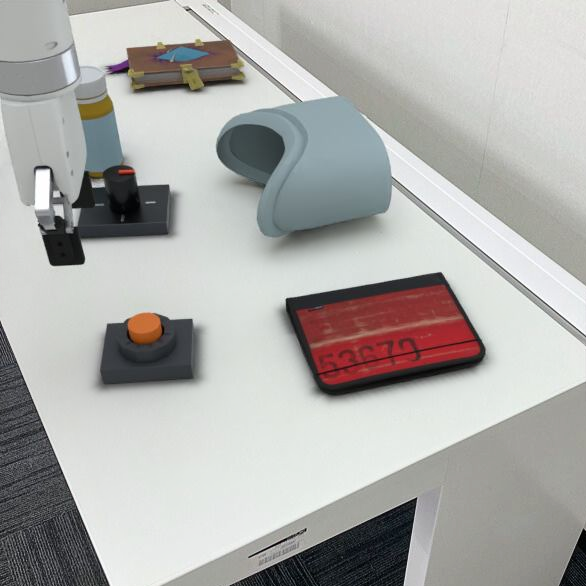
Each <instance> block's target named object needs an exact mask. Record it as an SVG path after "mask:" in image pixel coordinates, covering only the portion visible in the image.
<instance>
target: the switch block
mask: <svg viewBox="0 0 586 586" xmlns="http://www.w3.org/2000/svg"><path fill="white" fill-rule="evenodd" d="M152 313H153V314H155V315H157V316H158V317H159V319H160V322H161V328H162V335H161V337H160V339H158V340H157V341H155V342H152V343H150V344H137V343H135V342H133V341H132V340H131V338H130V334H129V330H128V321H129V320H130V319H131V318H132V317H133V316H131V317H128V318H126V319H125V320H124V321H123V322H110V323H106V328H105V335H104V342H103V348H102V349H103V350H102V355H101V363H100V369H99V372H100V376H101V379H102V383H103V385H109V384H124V383H125V384H126V383H139V382H153V381H156V382H157V381H170V380H171V381H172V380H183V379H185V380H187V379H194V366H195V365H194V363H195V325H194V319H193V318H177V319H170V318H169V317H168V316H165V315H162V314H159V313H156V312H152Z"/></svg>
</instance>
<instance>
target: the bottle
mask: <svg viewBox="0 0 586 586" xmlns="http://www.w3.org/2000/svg"><path fill="white" fill-rule="evenodd" d="M79 67H80V72H81V77H82V80H81V83H80V85H79V86H78V87H76V88H75V89H74V93H75V97H76V101H77V105H78V109H79V113H80V117H81V122H82V126H83V131H84V136H85V142H86V151H87V157H86V163H87V169H86V170H84V171H89V174H90V178H95V179H98V178H99V179H100V178H101V179H103V172H104V171H105V170H106V169H107V168H109V167H112V166H117V165H124V164H125V163H124V162H125V160H124V154H123V149H122V145H121V139H120V134H119V128H118V121H117V118H116V117H117V116H116V111H115V107H114V103H113V100H112V99H111V97H110V94H109V93H108V85H107V80H106V75H105V72H104V69H102V68H100V67H97V66H95V65H79Z"/></svg>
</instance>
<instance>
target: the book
mask: <svg viewBox="0 0 586 586" xmlns="http://www.w3.org/2000/svg"><path fill="white" fill-rule="evenodd" d="M125 49H126V56H127V59H126V60H124V61H121V62H120V63H117V64H114V65H105V66H104V67H105V68H108V70H107V71H105V73H111V72H112V73H113V72H118V71H121V70H124V69H126V68H127V67H128V68H129V69H128V71H127V74H128V75H127V76H128V78H131V82H130V88H131V89H133V90H138V89H143V88H146V87H147V88H148V87H159V86H169V85H179V84H180V85H181V84H188V85H189V88H190V91H194V90H198V89H200V88H203V87H204V86H205V83H204V82H214V81H224V80H225V81H226V80H239V81H240V80H244V79H246V75H245V73H244V72H243V71H241V70H240V69H242V68H244V67H245V63H244V61H243V60H242V59H240V58H239V56H238V54H237V52H236V49H235V47H234V45H233V43H232V41H231V39H226V40H224V39H222V40H211V41H209V40H208V41H202V40H201V39H200V38H196V39H195V41H194V42H185V43H173V44H171V43H170V44H164V43H163V42H162V41H158V42H157V44H156V45H147V46H146V45H145V46H133V47H126V48H125Z"/></svg>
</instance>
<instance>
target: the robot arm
mask: <svg viewBox="0 0 586 586" xmlns="http://www.w3.org/2000/svg"><path fill="white" fill-rule="evenodd" d="M79 66H80V63H79V58H78V52H77V49H76V43H75V39H74V34H73V28H72V25H71V19H70V15H69V10H68V5H67V0H0V111H1V117H2V123H3V129H4V135H5V139H6V144H7V149H8V153H9V156H10V161H11V167H12V170H13V174H14V178H15V183H16V187H17V190H18V195H19V198H20V201H21V203H22V204H23V205H24V206H25V207H30V206H34V215H35V218H36V219H37V227H38V228H39V229H38V230H39V234H40V235H41V238H42V241H43V245H44V249H45V252H46V256H47V259H48V264H49V265H50V266H51V267H67V266H69V267H70V266H83V265H84V264H85V263H86V256H85V252H84V248H83V243H82V240H81V239H82V238H80V235H79V231H78V225H75V226H74V216H73V209H74V210H76V209H81V208H93V207H94V206H95V203H96V202H95V197H94V193H93V188H92V187H93V184H92V179H91V177H90V174H89V171H84V170H86V169H87V163H86V157H87V151H86V142H85V136H84V131H83V126H82V122H81V117H80V113H79V109H78V105H77V101H76V97H75V93H74V89H75V88H76V87H78V86H79V85H80V83H81V80H82V77H81V72H80V67H79ZM55 192H56V193H57V192H59V196H55V197H54V193H55ZM57 206H58V207H59V206H62V207H63V208H62V209H63V217H62V216H61V215H60V214H59V215H56V211H55V207H57Z"/></svg>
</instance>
